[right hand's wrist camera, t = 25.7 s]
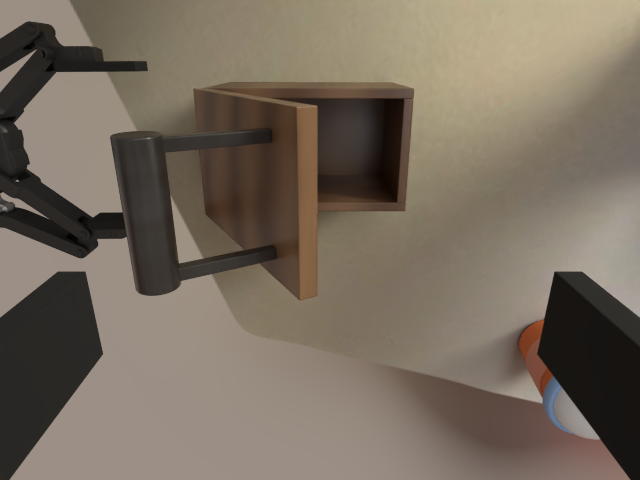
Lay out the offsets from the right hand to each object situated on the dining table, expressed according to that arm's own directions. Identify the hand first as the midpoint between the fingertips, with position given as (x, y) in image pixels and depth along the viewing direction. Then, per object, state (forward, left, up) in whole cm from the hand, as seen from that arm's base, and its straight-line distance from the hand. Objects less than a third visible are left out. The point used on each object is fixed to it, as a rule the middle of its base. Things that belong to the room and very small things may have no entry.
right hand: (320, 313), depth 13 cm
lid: (+1, -4, -17) cm, 18 cm away
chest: (0, -1, -35) cm, 35 cm away
